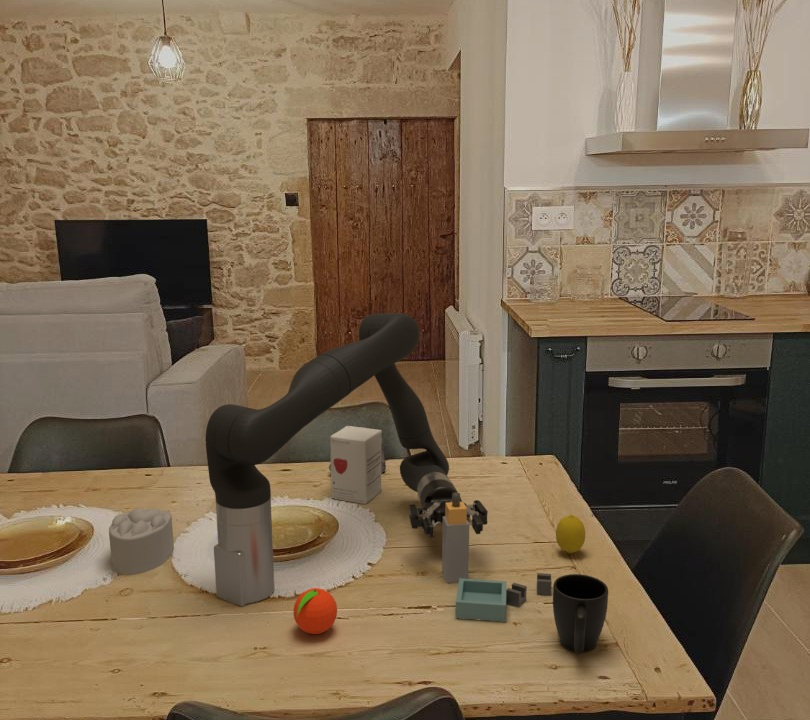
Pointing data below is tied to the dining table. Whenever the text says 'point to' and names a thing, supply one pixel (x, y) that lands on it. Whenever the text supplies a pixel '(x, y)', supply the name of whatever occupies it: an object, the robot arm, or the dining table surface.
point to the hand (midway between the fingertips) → (455, 530)
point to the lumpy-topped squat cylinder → (140, 540)
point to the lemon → (570, 534)
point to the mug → (579, 610)
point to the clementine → (315, 611)
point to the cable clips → (519, 591)
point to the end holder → (481, 599)
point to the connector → (455, 541)
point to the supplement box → (356, 464)
